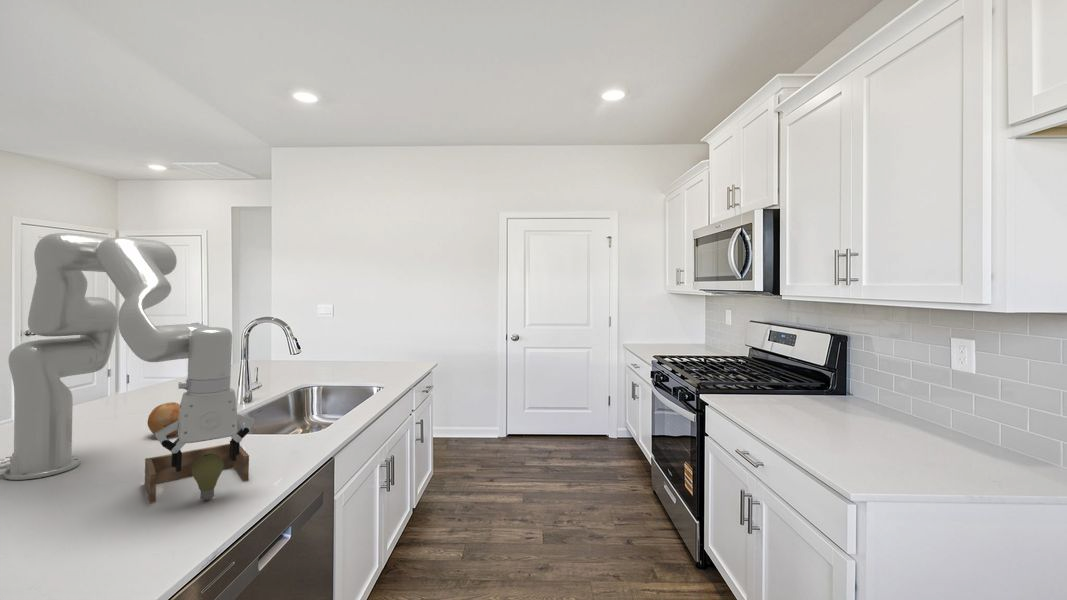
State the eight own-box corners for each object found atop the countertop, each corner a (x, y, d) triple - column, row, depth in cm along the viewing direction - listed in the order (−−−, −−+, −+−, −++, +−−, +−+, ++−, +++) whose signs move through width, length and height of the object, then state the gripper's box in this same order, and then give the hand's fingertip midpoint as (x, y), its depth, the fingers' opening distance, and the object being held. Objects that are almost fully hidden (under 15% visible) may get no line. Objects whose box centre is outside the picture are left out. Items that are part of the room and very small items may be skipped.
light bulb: (205, 508, 93) (206, 460, 93) (184, 504, 95) (184, 457, 94) (229, 496, 99) (230, 451, 99) (208, 493, 100) (209, 448, 100)
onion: (185, 428, 143) (186, 397, 143) (191, 436, 136) (192, 403, 136) (145, 434, 136) (146, 401, 136) (149, 443, 129) (150, 408, 129)
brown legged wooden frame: (149, 503, 94) (150, 475, 94) (144, 484, 103) (145, 458, 103) (248, 480, 107) (249, 455, 107) (236, 465, 116) (237, 442, 116)
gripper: (158, 393, 87) (155, 480, 88) (259, 384, 100) (256, 460, 100) (154, 386, 93) (152, 468, 93) (251, 378, 105) (248, 450, 105)
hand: (206, 464), depth 96 cm, fingers open, 9 cm apart
